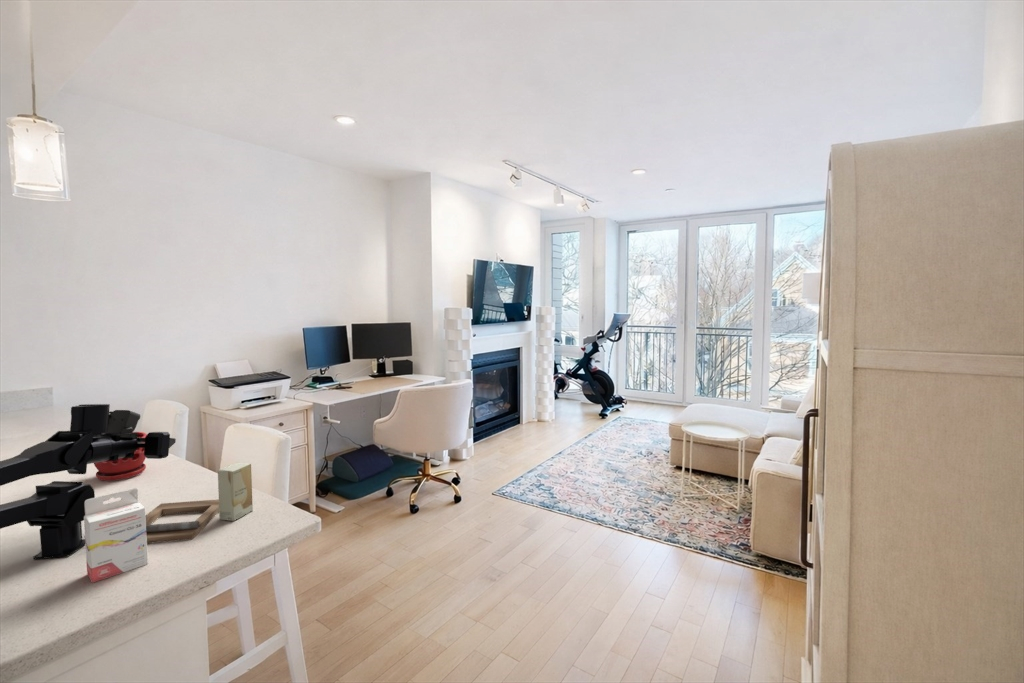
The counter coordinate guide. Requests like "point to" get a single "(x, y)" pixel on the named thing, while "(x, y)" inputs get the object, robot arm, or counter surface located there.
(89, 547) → the ink cartridge box
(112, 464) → the plant pot
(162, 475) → the counter surface
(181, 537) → the shelf frame
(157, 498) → the counter surface
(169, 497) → the counter surface
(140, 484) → the counter surface
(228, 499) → the skincare box
